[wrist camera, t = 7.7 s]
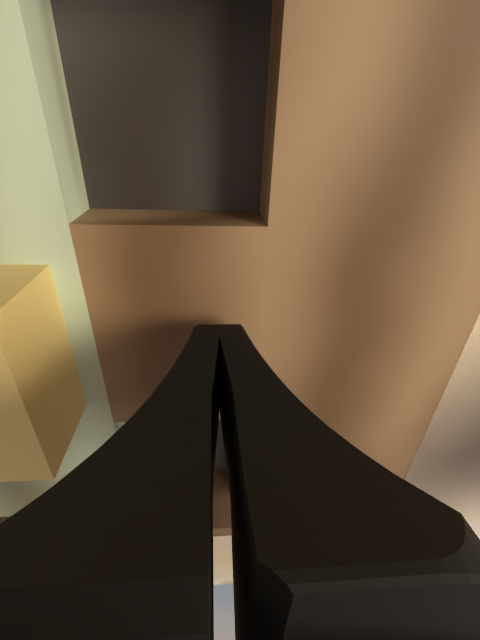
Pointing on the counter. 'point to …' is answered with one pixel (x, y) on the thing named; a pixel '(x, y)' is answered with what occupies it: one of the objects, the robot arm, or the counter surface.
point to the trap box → (249, 200)
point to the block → (35, 376)
